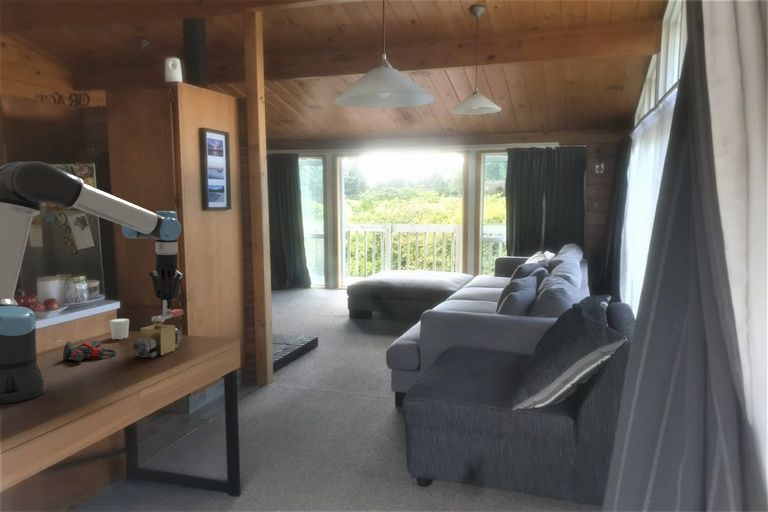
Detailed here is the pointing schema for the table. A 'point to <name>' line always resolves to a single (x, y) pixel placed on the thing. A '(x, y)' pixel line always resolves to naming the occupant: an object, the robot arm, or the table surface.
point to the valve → (85, 351)
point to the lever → (167, 315)
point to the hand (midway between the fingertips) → (166, 317)
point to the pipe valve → (157, 340)
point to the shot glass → (119, 328)
